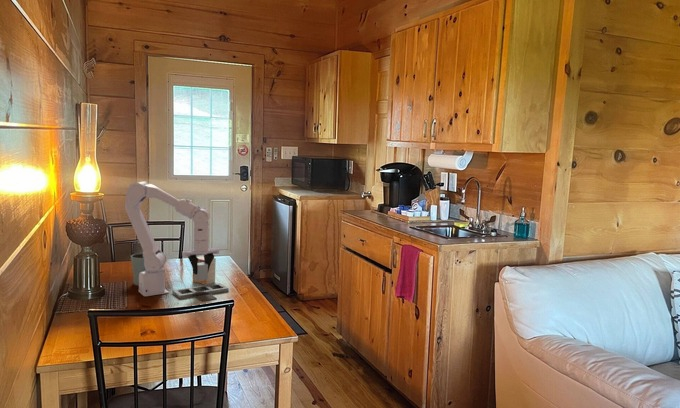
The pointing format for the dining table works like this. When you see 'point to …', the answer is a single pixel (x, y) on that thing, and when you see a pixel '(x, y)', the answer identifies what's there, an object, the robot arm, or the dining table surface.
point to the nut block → (201, 271)
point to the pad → (206, 297)
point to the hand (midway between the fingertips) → (200, 273)
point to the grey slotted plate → (193, 290)
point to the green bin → (137, 266)
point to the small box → (210, 273)
